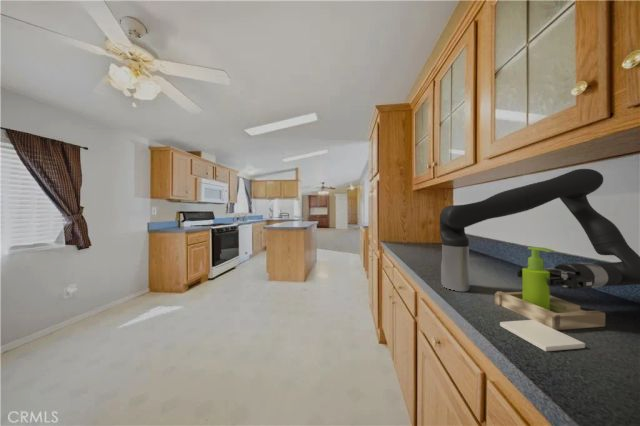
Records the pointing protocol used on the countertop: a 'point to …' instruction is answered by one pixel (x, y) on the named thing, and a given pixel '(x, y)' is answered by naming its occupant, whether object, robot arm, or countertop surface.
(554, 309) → the offcut stack
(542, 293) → the soap dispenser
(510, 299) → the pine rack
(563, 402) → the countertop surface
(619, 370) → the countertop surface
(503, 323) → the cream tile
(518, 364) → the countertop surface
